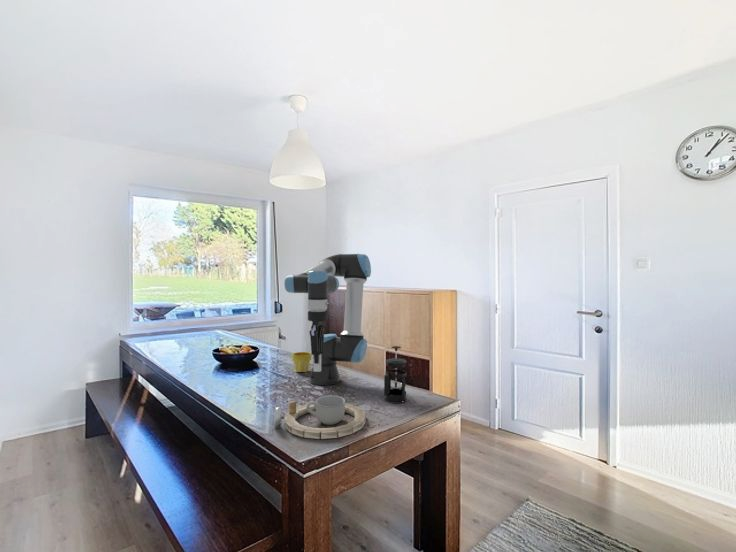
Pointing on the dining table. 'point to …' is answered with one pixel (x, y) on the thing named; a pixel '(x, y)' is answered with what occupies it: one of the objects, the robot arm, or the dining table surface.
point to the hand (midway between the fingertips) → (317, 371)
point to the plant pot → (301, 361)
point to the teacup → (328, 409)
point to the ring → (322, 432)
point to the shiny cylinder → (277, 417)
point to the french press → (395, 389)
